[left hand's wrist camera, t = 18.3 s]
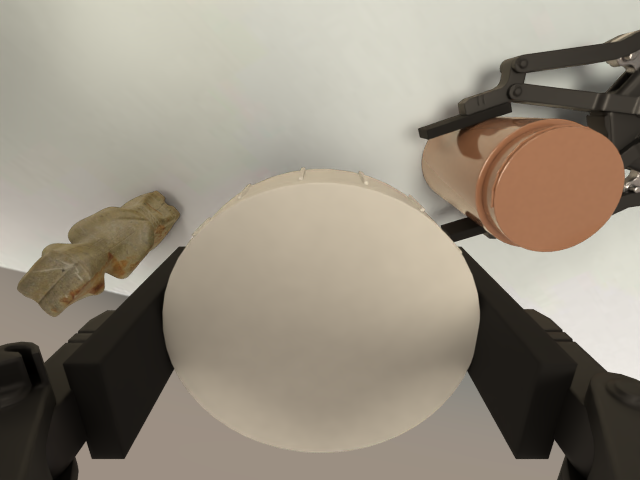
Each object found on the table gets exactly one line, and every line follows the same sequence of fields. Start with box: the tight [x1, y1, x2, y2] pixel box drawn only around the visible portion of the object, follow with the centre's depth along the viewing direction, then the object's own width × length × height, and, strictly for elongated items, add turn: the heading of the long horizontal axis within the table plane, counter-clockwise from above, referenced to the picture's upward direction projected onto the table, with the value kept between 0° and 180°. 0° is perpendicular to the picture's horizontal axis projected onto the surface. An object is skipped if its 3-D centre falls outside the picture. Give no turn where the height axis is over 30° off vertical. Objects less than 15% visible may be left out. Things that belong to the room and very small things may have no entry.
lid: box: [162, 167, 480, 453], centre depth 11 cm, size 9×9×2 cm
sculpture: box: [17, 191, 180, 317], centre depth 31 cm, size 6×7×15 cm
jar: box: [422, 117, 625, 252], centre depth 29 cm, size 8×8×16 cm
